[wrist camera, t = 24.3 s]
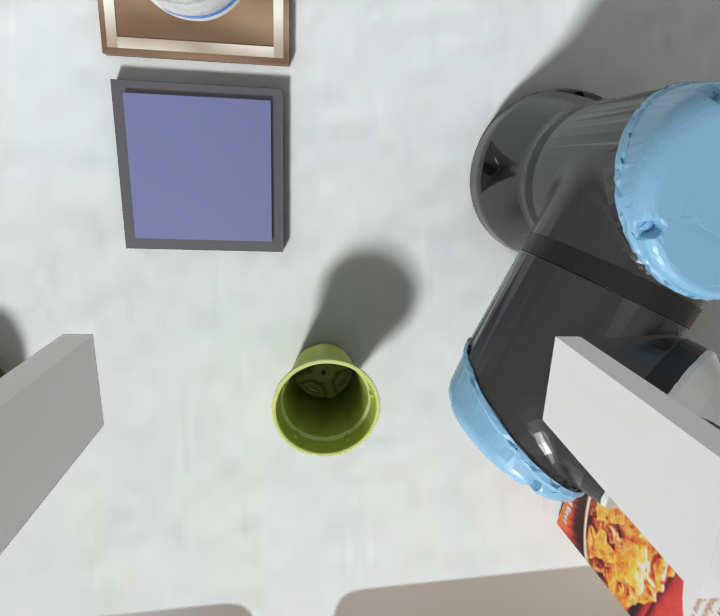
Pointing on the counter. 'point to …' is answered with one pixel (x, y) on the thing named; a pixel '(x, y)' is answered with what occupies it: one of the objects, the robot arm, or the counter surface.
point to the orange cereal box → (629, 562)
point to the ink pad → (200, 165)
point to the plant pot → (325, 403)
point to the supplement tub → (196, 8)
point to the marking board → (197, 33)
